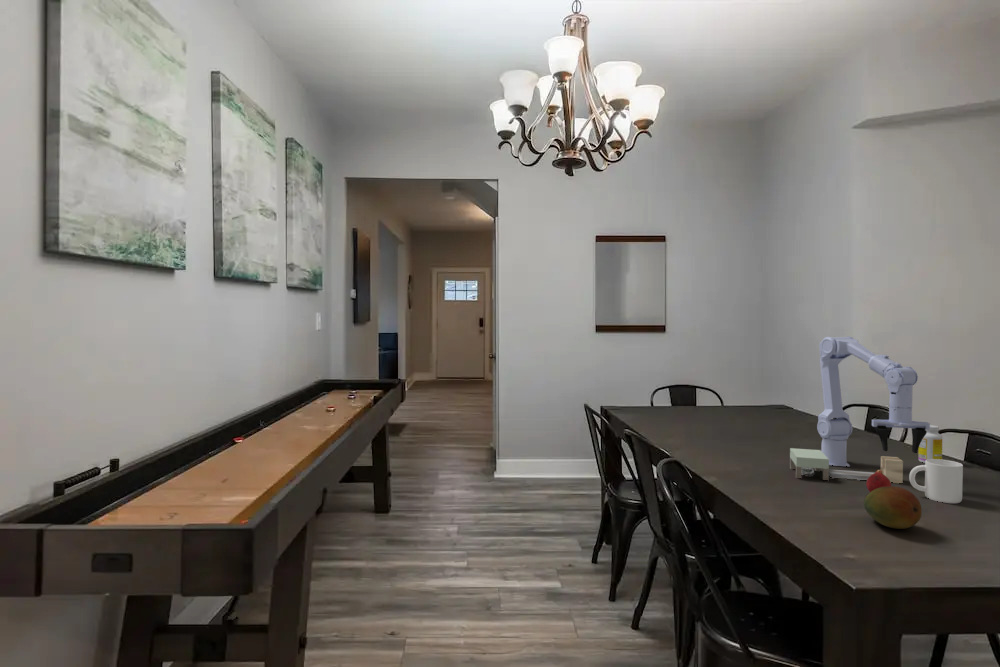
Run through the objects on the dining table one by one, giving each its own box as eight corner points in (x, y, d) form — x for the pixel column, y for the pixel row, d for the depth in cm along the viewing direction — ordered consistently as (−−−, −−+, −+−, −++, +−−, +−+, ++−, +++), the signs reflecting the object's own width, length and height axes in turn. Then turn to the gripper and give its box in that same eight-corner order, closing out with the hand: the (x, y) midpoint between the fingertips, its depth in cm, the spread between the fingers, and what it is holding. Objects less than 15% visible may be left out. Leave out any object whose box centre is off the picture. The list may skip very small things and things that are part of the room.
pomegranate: (883, 502, 157) (883, 473, 157) (861, 496, 162) (862, 468, 162) (895, 499, 160) (895, 471, 160) (873, 493, 165) (874, 466, 165)
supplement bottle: (943, 462, 200) (943, 425, 200) (940, 466, 195) (941, 428, 195) (919, 459, 205) (920, 423, 204) (916, 462, 200) (917, 426, 200)
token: (795, 472, 189) (795, 466, 189) (812, 473, 187) (812, 467, 187) (797, 476, 184) (797, 470, 184) (815, 477, 183) (815, 471, 183)
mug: (911, 499, 160) (911, 462, 160) (906, 491, 167) (907, 456, 167) (965, 505, 154) (966, 467, 154) (958, 497, 162) (959, 461, 161)
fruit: (901, 539, 132) (901, 496, 131) (848, 521, 143) (849, 481, 143) (932, 531, 136) (933, 489, 136) (879, 514, 148) (879, 476, 147)
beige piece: (826, 474, 186) (827, 452, 186) (897, 479, 180) (897, 457, 179) (830, 478, 181) (830, 456, 181) (902, 483, 175) (903, 461, 175)
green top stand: (789, 468, 193) (790, 448, 193) (819, 470, 190) (820, 450, 190) (796, 478, 181) (796, 457, 180) (828, 481, 178) (829, 459, 178)
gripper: (876, 407, 173) (875, 452, 173) (934, 410, 168) (933, 456, 168) (870, 404, 179) (869, 447, 180) (925, 406, 174) (924, 451, 175)
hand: (899, 451), depth 174 cm, fingers open, 7 cm apart
